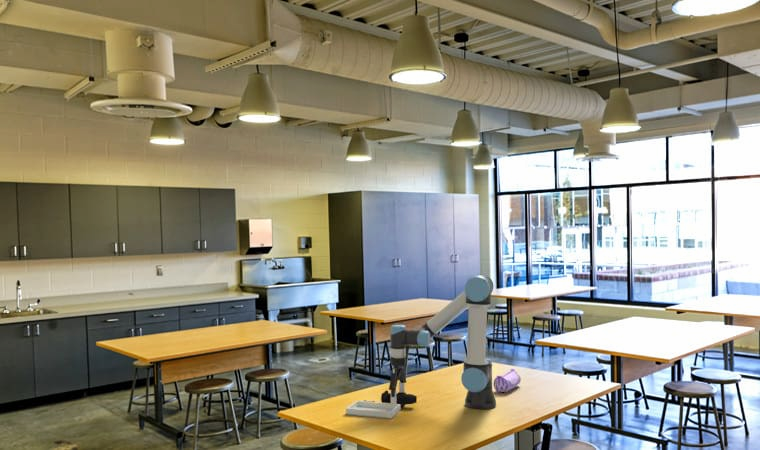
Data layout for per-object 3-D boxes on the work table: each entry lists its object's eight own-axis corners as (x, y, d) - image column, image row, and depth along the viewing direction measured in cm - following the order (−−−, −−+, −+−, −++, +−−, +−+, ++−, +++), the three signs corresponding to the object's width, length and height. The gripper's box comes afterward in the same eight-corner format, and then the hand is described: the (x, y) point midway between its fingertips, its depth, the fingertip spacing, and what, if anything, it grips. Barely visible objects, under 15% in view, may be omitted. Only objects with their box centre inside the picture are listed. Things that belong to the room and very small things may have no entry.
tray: (400, 410, 287) (400, 404, 287) (391, 419, 273) (391, 412, 273) (357, 406, 294) (357, 400, 294) (345, 414, 281) (345, 408, 281)
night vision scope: (416, 412, 292) (413, 403, 285) (381, 411, 296) (377, 402, 289) (418, 397, 297) (414, 388, 290) (383, 396, 302) (379, 386, 294)
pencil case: (505, 384, 338) (505, 367, 338) (521, 386, 333) (521, 369, 334) (492, 393, 319) (492, 375, 319) (509, 395, 314) (509, 377, 314)
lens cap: (376, 404, 300) (376, 400, 300) (372, 407, 294) (372, 403, 294) (365, 403, 302) (365, 399, 302) (361, 406, 296) (361, 402, 296)
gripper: (398, 351, 308) (398, 392, 308) (382, 360, 284) (382, 405, 284) (412, 352, 306) (412, 394, 305) (397, 362, 282) (397, 407, 281)
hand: (397, 399), depth 294 cm, fingers open, 13 cm apart
